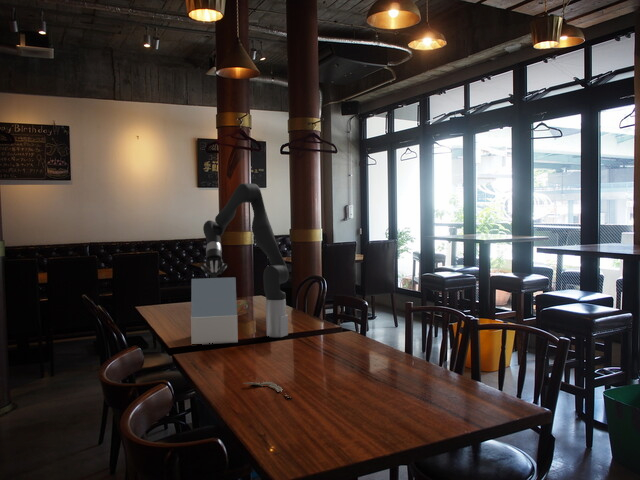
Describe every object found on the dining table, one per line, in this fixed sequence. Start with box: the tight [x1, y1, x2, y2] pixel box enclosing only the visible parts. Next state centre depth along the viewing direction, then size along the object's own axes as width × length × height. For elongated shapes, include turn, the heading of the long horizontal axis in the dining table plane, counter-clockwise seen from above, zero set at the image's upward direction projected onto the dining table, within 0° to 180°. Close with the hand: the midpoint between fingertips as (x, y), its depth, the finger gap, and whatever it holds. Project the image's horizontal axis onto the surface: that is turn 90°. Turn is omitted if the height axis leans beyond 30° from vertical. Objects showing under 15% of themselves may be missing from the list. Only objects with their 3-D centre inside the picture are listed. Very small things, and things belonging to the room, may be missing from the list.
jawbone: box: [242, 380, 292, 399], centre depth 162 cm, size 9×20×2 cm, turn 54°
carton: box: [190, 315, 239, 345], centre depth 230 cm, size 18×20×12 cm
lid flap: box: [190, 276, 237, 318], centre depth 224 cm, size 18×20×1 cm
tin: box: [236, 299, 250, 317], centre depth 286 cm, size 15×3×8 cm, turn 143°
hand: (214, 280), depth 237 cm, fingers closed
